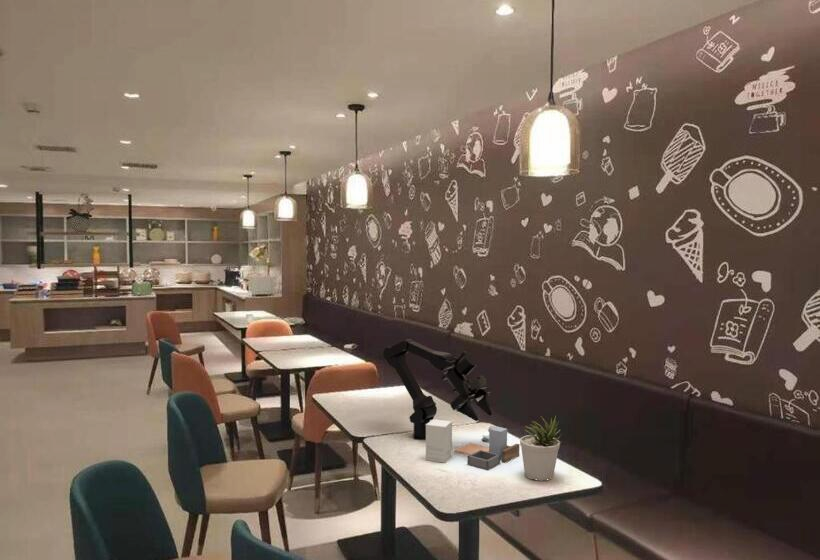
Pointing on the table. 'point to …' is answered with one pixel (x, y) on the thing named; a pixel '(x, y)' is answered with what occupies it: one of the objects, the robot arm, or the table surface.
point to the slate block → (497, 440)
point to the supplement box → (439, 440)
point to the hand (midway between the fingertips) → (484, 417)
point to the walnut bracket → (510, 452)
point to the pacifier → (487, 436)
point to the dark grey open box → (483, 459)
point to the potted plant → (540, 452)
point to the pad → (471, 448)
